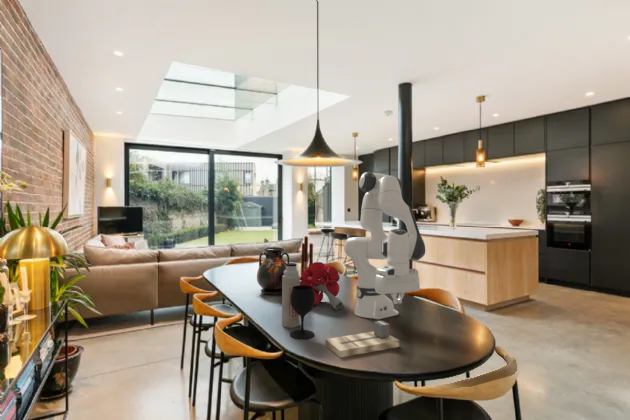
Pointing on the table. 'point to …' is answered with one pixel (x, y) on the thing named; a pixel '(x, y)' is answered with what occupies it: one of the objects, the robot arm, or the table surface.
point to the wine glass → (302, 308)
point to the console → (360, 344)
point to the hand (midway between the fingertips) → (397, 303)
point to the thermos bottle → (288, 283)
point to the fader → (381, 329)
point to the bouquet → (322, 282)
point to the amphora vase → (272, 271)
